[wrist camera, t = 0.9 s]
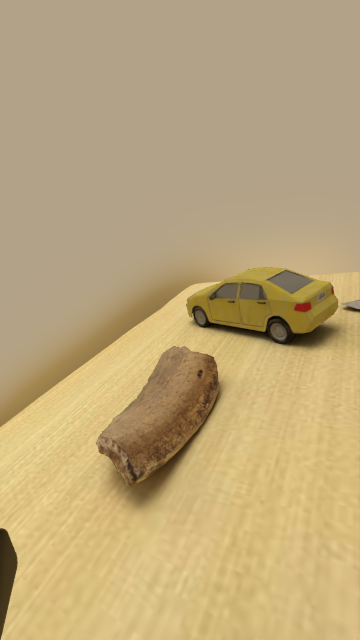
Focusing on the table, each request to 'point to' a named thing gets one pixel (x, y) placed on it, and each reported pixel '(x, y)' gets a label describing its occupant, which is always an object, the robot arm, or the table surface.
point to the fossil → (162, 414)
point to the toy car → (266, 302)
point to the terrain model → (353, 304)
